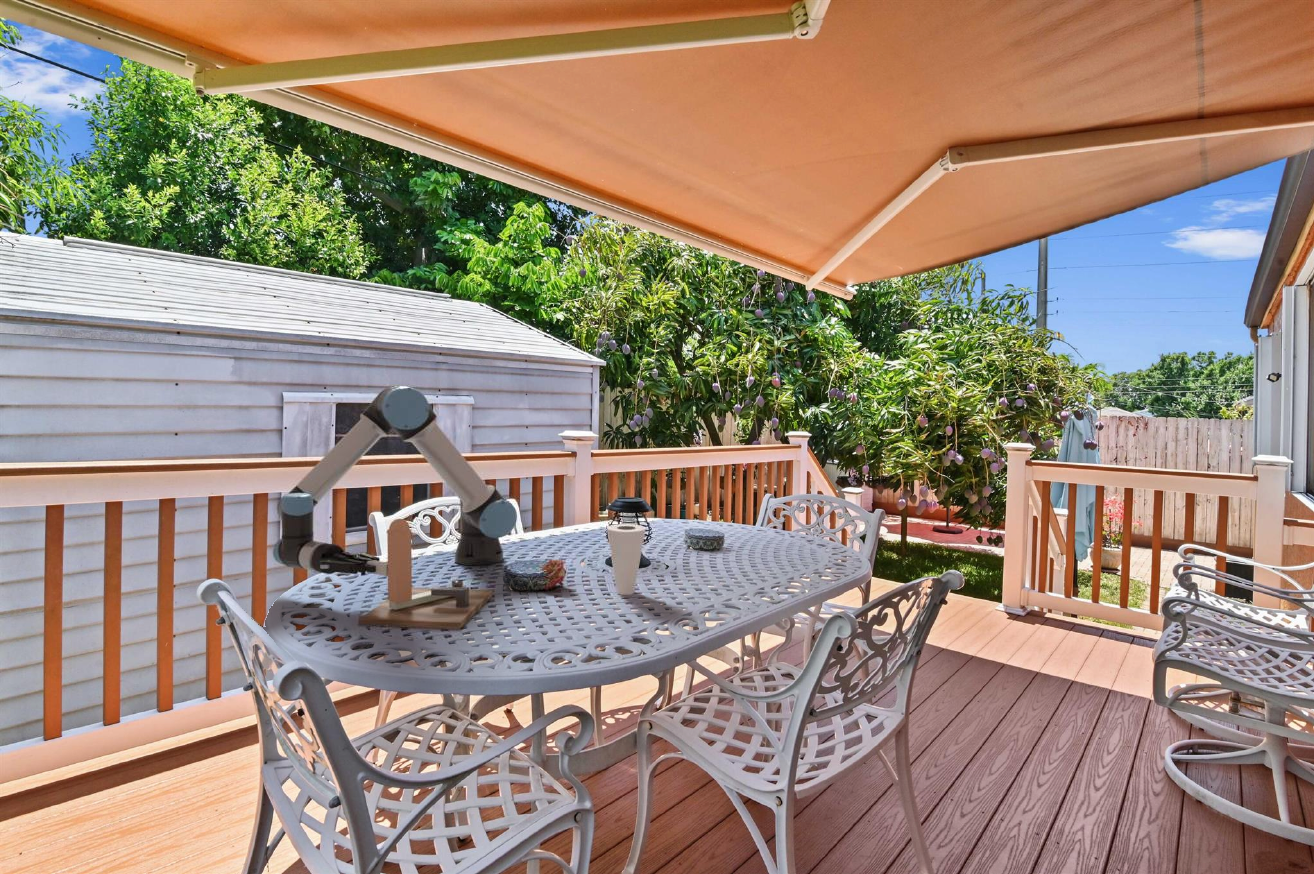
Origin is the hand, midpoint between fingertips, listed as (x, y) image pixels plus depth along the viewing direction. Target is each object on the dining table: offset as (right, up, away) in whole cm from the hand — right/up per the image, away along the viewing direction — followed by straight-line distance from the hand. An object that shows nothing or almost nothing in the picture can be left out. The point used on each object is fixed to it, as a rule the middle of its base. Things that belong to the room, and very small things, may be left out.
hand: (388, 569), depth 167 cm
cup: (+57, -11, +22) cm, 62 cm away
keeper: (+14, -9, +8) cm, 19 cm away
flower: (+36, -10, +25) cm, 45 cm away
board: (+9, -11, +5) cm, 15 cm away
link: (+8, -9, +6) cm, 14 cm away
